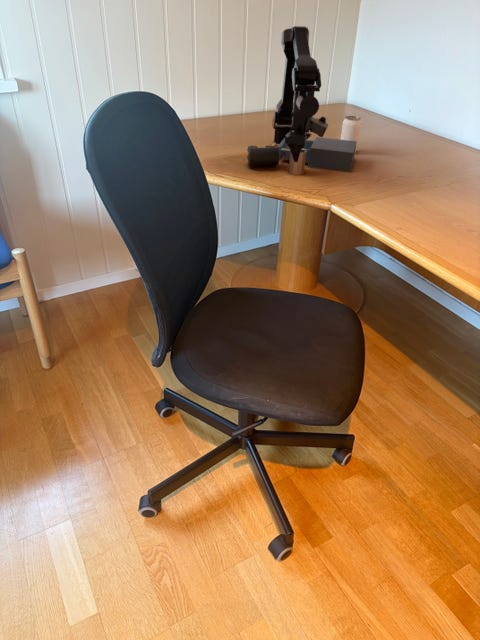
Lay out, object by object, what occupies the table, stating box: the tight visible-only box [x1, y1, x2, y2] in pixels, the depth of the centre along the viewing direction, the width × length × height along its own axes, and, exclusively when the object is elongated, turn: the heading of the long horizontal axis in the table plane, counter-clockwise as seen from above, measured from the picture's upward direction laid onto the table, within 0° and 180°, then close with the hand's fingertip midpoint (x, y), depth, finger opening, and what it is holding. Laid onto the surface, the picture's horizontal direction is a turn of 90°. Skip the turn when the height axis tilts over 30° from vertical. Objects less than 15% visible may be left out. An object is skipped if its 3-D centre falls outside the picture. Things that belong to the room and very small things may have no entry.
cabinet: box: [307, 136, 357, 173], centre depth 171 cm, size 14×14×6 cm
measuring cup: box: [281, 148, 307, 176], centre depth 162 cm, size 8×5×7 cm, turn 74°
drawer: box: [271, 138, 315, 163], centre depth 173 cm, size 17×13×5 cm
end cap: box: [246, 145, 280, 169], centre depth 165 cm, size 10×7×7 cm
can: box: [340, 115, 362, 153], centre depth 181 cm, size 6×6×12 cm
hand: (297, 159), depth 161 cm, fingers closed on measuring cup, 5 cm apart
